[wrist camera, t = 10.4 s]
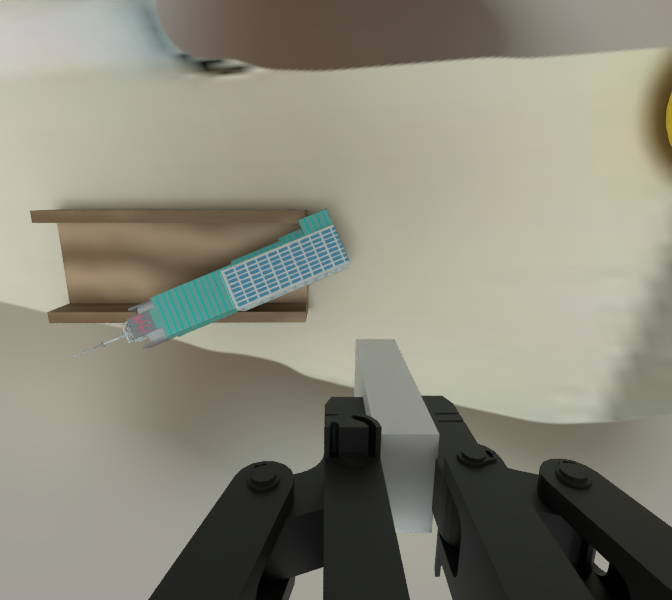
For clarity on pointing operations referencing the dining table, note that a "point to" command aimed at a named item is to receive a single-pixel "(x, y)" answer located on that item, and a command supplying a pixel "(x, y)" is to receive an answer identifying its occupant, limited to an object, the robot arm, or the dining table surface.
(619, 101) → the dining table surface
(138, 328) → the building
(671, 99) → the vase
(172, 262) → the tray
